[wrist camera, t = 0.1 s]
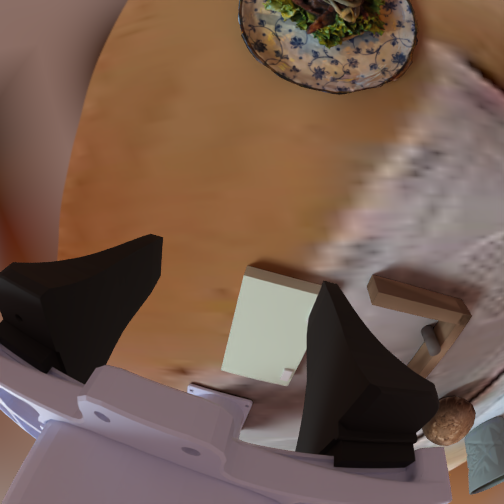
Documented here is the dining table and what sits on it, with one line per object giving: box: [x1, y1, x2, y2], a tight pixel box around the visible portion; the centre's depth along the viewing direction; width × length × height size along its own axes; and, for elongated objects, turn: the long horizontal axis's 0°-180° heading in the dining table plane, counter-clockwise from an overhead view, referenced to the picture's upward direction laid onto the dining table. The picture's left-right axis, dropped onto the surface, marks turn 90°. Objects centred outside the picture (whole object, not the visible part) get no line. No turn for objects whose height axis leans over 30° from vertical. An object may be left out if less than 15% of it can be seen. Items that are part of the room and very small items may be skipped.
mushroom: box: [422, 396, 476, 446], centre depth 28 cm, size 8×8×6 cm
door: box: [221, 266, 322, 386], centre depth 26 cm, size 12×7×2 cm, turn 168°
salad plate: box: [238, 0, 418, 95], centre depth 11 cm, size 12×12×8 cm
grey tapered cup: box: [465, 417, 504, 494], centre depth 28 cm, size 10×10×12 cm
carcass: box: [367, 275, 472, 378], centre depth 25 cm, size 16×10×3 cm, turn 168°
